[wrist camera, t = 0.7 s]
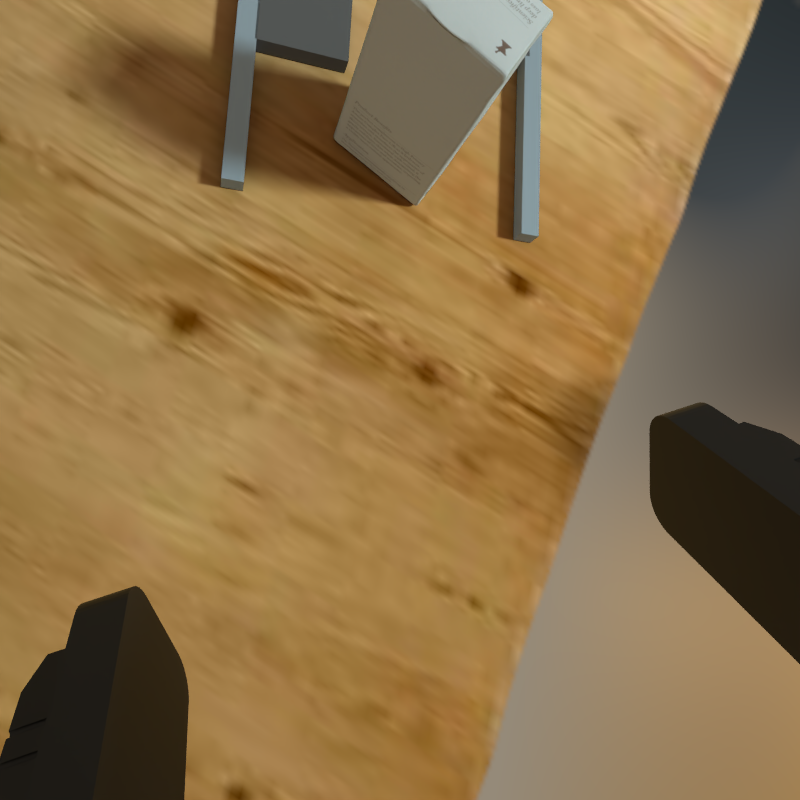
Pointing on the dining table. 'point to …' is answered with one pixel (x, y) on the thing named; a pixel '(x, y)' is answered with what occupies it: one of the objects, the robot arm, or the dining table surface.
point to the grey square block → (306, 31)
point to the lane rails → (525, 122)
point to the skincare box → (431, 82)
